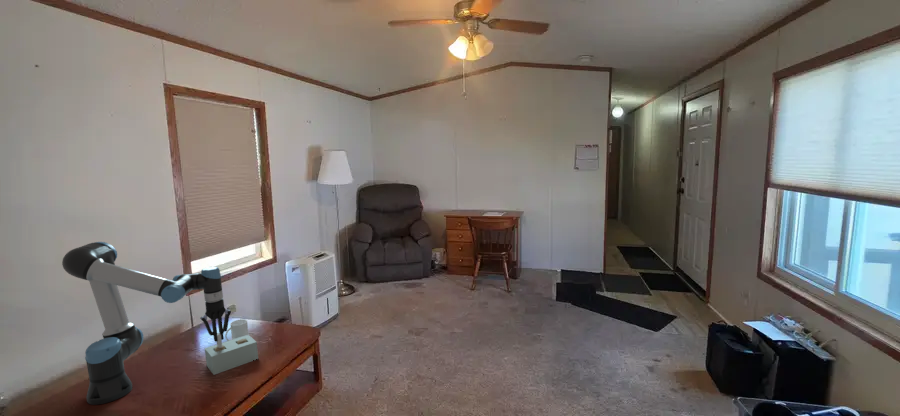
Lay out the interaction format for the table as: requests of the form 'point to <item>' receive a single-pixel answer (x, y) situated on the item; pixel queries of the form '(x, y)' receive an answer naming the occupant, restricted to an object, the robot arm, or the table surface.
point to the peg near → (219, 348)
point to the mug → (238, 329)
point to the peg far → (241, 341)
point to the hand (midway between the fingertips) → (219, 346)
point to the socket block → (231, 354)
